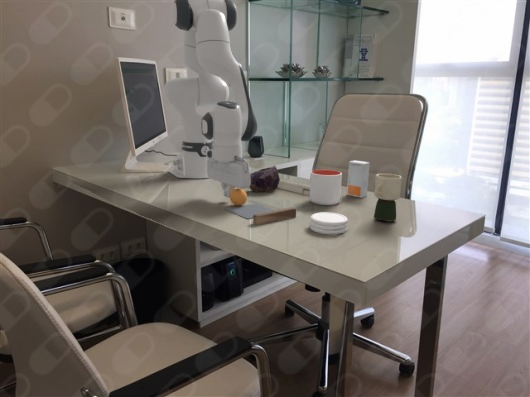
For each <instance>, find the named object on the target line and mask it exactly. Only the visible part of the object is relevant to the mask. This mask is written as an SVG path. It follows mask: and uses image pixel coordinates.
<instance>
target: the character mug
mask: <svg viewBox="0 0 530 397" xmlns="http://www.w3.org/2000/svg"><path fill="white" fill-rule="evenodd" d="M402 181H403V180H402V175H399V174H394V173H377V174H375V179H374V185H375V186H374V187H375V188H374V192H373V194H374V197H375V198H377V201H376V204H375V209H374V213H373V219H376V220H380V222H384V221H387V222H394V221H396V220H397V202H396V201H397V200H399V199H400V198H401V190H402V189H401V188H402Z"/></svg>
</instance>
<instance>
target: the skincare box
mask: <svg viewBox="0 0 530 397" xmlns="http://www.w3.org/2000/svg"><path fill="white" fill-rule="evenodd" d="M370 164H371V163H370V162H368V161H362V160H350V161H348V169H347V170H348V172H347V183H346V186H347V187H346V196H347V195H348V196H353V197H356V198H360V199H361V198H365V197H367V195H368V190H369V189H368V187H369V176H370V175H369V174H370Z"/></svg>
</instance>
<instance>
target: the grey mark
mask: <svg viewBox="0 0 530 397" xmlns="http://www.w3.org/2000/svg"><path fill="white" fill-rule="evenodd" d="M225 209H226V210H225V211H227V210H228V211H227V212H229V211H230V212H229V213H232V214H234V215H236V214H237V216H238V217H241V216H242V217H241V218H244V217H245V218H244V219H246V218H247V220H249V219H250V220H251V219H253V215H254V214H259V213H264V212H269V211H274V210H275V209H273V208H270V207H268V206H264V205H263V204H260V203H256V202H254V203H250V204H249V203H248V204H243V205H241V206H232V207H228V208H225Z"/></svg>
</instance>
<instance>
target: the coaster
mask: <svg viewBox="0 0 530 397" xmlns="http://www.w3.org/2000/svg"><path fill="white" fill-rule="evenodd" d="M309 220H310V221H309V228H310V230H311V231H312V232H315V233H318V234H323V235H340V234H344V233H346V232H347V231H348V222H349V220H348V217H347V216H346V215H343V214H341V213H337V212H329V211H328V212H327V211H326V212H325V211H324V212H316V213H313V214H311V215H310V217H309Z"/></svg>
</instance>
